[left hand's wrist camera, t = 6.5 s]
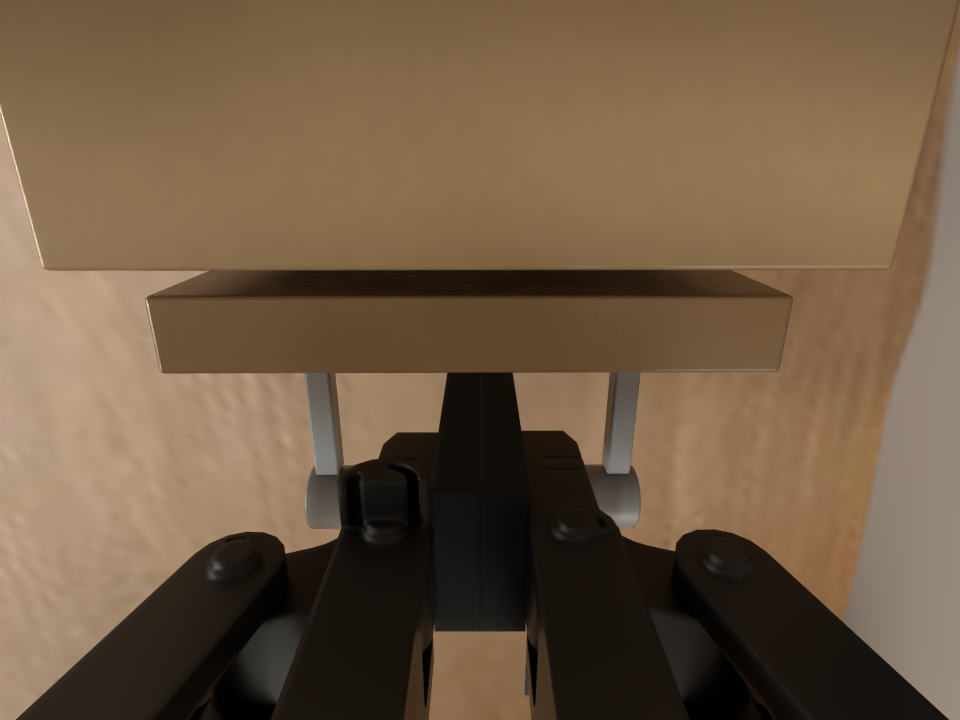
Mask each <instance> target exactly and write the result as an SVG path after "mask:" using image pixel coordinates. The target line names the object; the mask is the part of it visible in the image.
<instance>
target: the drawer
mask: <svg viewBox="0 0 960 720" xmlns="http://www.w3.org/2000/svg"><path fill="white" fill-rule="evenodd" d="M792 302H793V299H792V296H790V295H788V294H786V293H783V292H781V291H779V290H776V289H774V288H772V287H769V286H767V285H765V284H762V283H760V282H757V281H755V280H753V279H750V278H748V277H746V276H743V275H741V274H739V273H736V272H734V271H732V270H211V271H208V272H206V273H203V274H201V275H198V276H196V277H194V278H191V279H189V280H186V281H184V282H181V283H179V284H177V285H174V286H172V287H169V288H167V289H164V290H162V291H159V292H157V293H155V294H152V295H150V296H148V297H146V299H145V303H146V308H147V313H148V317H149V322H150V327H151V332H152V336H153V341H154V346H155V350H156V355H157V360H158V365H159V369H160V371H161V372H162V373H304V375H305V384H306V392H307V401H308V409H309V418H310V427H311V435H312V444H313V453H314V461H315V467H314V468H313V469H312V470H311V472H310V475H309V478H308V482H307V486H306V494H305V514H306V519H307V523H308V525H309V527H310V528H312V529H341V519H340V510H339V500H338V491H337V480H338V479H339V477H340V476H341V475H342V474H343V472H345V471H346V470H348V469H350V468H351V467H353V466H355V465H343V463H344V460H343V450H342V439H341V429H340V418H339V408H338V397H337V387H336V376H335V373H518V372H610V378H609V390H608V402H607V413H606V425H605V436H604V448H603V460H602V462H603V465H585V471H587V474H588V477H589V480H590V483H591V486H592V489H593V492H594V495H595V498H596V500H597V503H598V506H599V509H600V510H601V511H603V512H604V513H606V514H607V515H609V516H610V517H612V519H613V520H614V522H615V523H616V525H617V526H618V528H633V527H635V526H636V525H637V524H638V521H639V517H640V509H641V497H640V487H639V482H638V478H637V475H636V472H635V470H634V468H633V467H632V466H631V456H632V447H633V438H634V428H635V419H636V409H637V400H638V390H639V381H640V372H776V371H778V370H779V368H780V363H781V357H782V352H783V347H784V342H785V337H786V332H787V327H788V322H789V317H790V312H791V307H792Z"/></svg>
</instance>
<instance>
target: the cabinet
mask: <svg viewBox="0 0 960 720" xmlns="http://www.w3.org/2000/svg"><path fill="white" fill-rule="evenodd" d="M959 2H960V0H0V115H1V118H2V122H3V126H4V129H5V133H6V137H7V141H8V144H9V148H10V152H11V155H12V159H13V163H14V166H15V170H16V174H17V177H18V181H19V185H20V189H21V192H22V196H23V200H24V203H25V207H26V211H27V214H28V218H29V222H30V226H31V229H32V233H33V237H34V240H35V244H36V248H37V251H38V255H39V259H40V262H41V266H42V267H43V269H46V270H50V271H177V270H885V269H888V268H891V266H892V265H893V261H894V257H895V253H896V249H897V245H898V241H899V238H900V234H901V230H902V226H903V222H904V218H905V214H906V210H907V206H908V202H909V198H910V194H911V190H912V187H913V183H914V179H915V175H916V171H917V167H918V163H919V159H920V155H921V151H922V147H923V143H924V139H925V135H926V132H927V128H928V124H929V120H930V116H931V112H932V108H933V104H934V100H935V96H936V92H937V88H938V84H939V80H940V77H941V73H942V69H943V65H944V61H945V57H946V53H947V49H948V45H949V41H950V37H951V33H952V29H953V26H954V22H955V18H956V14H957V10H958V6H959Z"/></svg>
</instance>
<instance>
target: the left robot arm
mask: <svg viewBox="0 0 960 720" xmlns="http://www.w3.org/2000/svg"><path fill="white" fill-rule="evenodd" d="M337 491H338V500H339V510H340V519H341V531H340V534H339V536H338V538H337V539H335V540H333V541H331V542H329V543H327V544H324V545H320V546H317V547H314V548H310V549H305V550H301V551H296V552H291V553H287V554H285V549H284V545H283V544H282V543H281V541H280V540H279V539H278V538H277V537H275V536H272V535H270V534H267V533H264V532H244V533H239V534H234V535H229V536H226V537H224V538H221V539H219V540H217V541H214V542H212V543H210V544H208V545H207V546H205V547H204V548H203V549H201V550H200V551H198V552H197V553H196V554H194V555H193V556H192V557H191V558H190V559H189V560H188V561H187V562H186V563H184V564H183V565H182V566H181V567H180V568H179V569H178V570H177V571H176V572H175V573H174V574H173V575H172V576H170V577H169V578H168V579H167V580H166V581H165V582H164V583H163V584H162V585H161V586H160V587H159V588H157V589H156V590H155V591H154V592H153V593H152V594H151V595H150V596H149V597H148V598H147V599H146V600H145V601H143V602H142V603H141V604H140V605H139V606H138V607H137V608H136V609H135V610H134V611H133V612H132V613H131V614H129V615H128V616H127V617H126V618H125V619H124V620H123V621H122V622H121V623H120V624H119V625H118V626H116V627H115V628H114V629H113V630H112V631H111V632H110V633H109V634H108V635H107V636H106V637H105V638H104V639H102V640H101V641H100V642H99V643H98V644H97V645H96V646H95V647H94V648H93V649H92V650H91V651H89V652H88V653H87V654H86V655H85V656H84V657H83V658H82V659H81V660H80V661H79V662H78V663H77V664H75V665H74V666H73V667H72V668H71V669H70V670H69V671H68V672H67V673H66V674H65V675H64V676H62V677H61V678H60V679H59V680H58V681H57V682H56V683H55V684H54V685H53V686H52V687H51V688H50V689H48V690H47V691H46V692H45V693H44V694H43V695H42V696H41V697H40V698H39V699H38V700H37V701H36V702H34V703H33V704H32V705H31V706H30V707H29V708H28V709H27V710H26V711H25V712H24V713H23V714H21V715H20V716H19V717H18V718H17V719H16V720H429V709H430V698H431V686H432V675H433V664H434V650H433V630H434V624H435V631H525V625H526V627H527V650H526V676H525V695H529V697H530V708H531V720H949V719H948V718H947V717H945V716H944V715H943V714H942V713H941V712H940V711H939V710H938V709H937V708H936V707H935V706H933V705H932V704H931V703H930V702H929V701H928V700H927V699H926V698H925V697H924V696H923V695H921V694H920V693H919V692H918V691H917V690H916V689H915V688H914V687H913V686H912V685H911V684H909V683H908V682H907V681H906V680H905V679H904V678H903V677H902V676H901V675H900V674H899V673H898V672H896V671H895V670H894V669H893V668H892V667H891V666H890V665H889V664H888V663H887V662H886V661H884V660H883V659H882V658H881V657H880V656H879V655H878V654H877V653H876V652H875V651H874V650H873V649H871V648H870V647H869V646H868V645H867V644H866V643H865V642H864V641H863V640H862V639H861V638H859V637H858V636H857V635H856V634H855V633H854V632H853V631H852V630H851V629H850V628H849V627H848V626H846V625H845V624H844V623H843V622H842V621H841V620H840V619H839V618H838V617H837V616H836V615H834V614H833V613H832V612H831V611H830V610H829V609H828V608H827V607H826V606H825V605H824V604H822V603H821V602H820V601H819V600H818V599H817V598H816V597H815V596H814V595H813V594H812V593H811V592H809V591H808V590H807V589H806V588H805V587H804V586H803V585H802V584H801V583H800V582H799V581H797V580H796V579H795V578H794V577H793V576H792V575H791V574H790V573H789V572H788V571H787V570H786V569H784V568H783V567H782V566H781V565H780V564H779V563H778V562H777V561H776V560H775V559H774V558H772V557H771V556H770V555H769V554H768V553H767V552H766V551H764V550H763V549H762V548H760V547H759V546H757V545H756V544H755V543H753V542H752V541H750V540H747V539H745V538H743V537H740V536H738V535H736V534H733V533H729V532H725V531H719V530H714V529H712V530H695V531H692V532H690V533H687V534H684V535H683V536H682V537H681V538H680V539H679V541H678V542H677V543H676V549H675V551H670V550H666V549H661V548H657V547H652V546H648V545H644V544H641V543H637V542H634V541H632V540H630V539H628V538H626V537H623V536H622V535H621V533H620V530H619V528H618V526H617V525H616V523H615V522H614V520H613V519H612V517H610V516H609V515H607V514H606V513H604V512H603V511H601V510H600V509H599V506H598V503H597V500H596V498H595V495H594V492H593V489H592V486H591V483H590V480H589V477H588V474H587V471H585V465H584V462H583V459H581V454H580V451H579V448H578V445H577V442H576V441H574V440H573V439H572V438H571V437H570V436H569V435H567V434H566V433H565V432H564V431H521V425H520V419H519V412H518V406H517V399H516V392H515V386H514V379H513V373H447V380H446V386H445V393H444V399H443V406H442V413H441V419H440V426H439V432H438V433H396V434H395V435H394V436H393V437H391V438H390V439H389V440H388V441H387V442H386V443H384V444H383V447H382V450H381V453H380V456H379V459H374V460H369V461H366V462H363V463H360V464H356V465H355V466H353V467H351V468H350V469H348V470H346V471H345V472H343V474H342V475H341V476H340V477H339V479H338V480H337Z"/></svg>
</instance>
